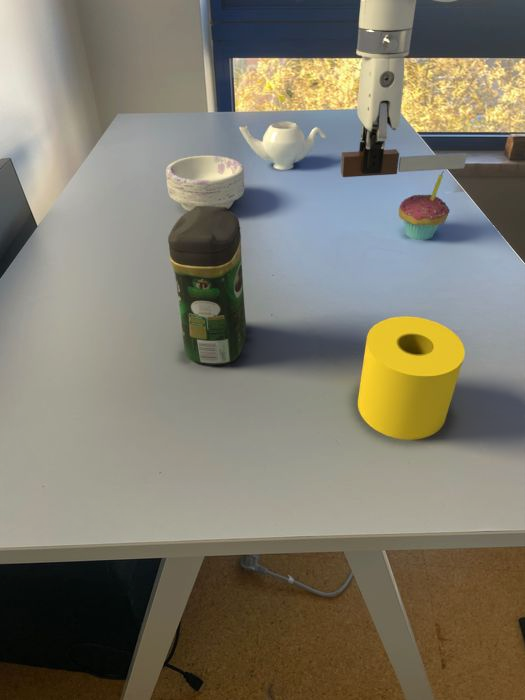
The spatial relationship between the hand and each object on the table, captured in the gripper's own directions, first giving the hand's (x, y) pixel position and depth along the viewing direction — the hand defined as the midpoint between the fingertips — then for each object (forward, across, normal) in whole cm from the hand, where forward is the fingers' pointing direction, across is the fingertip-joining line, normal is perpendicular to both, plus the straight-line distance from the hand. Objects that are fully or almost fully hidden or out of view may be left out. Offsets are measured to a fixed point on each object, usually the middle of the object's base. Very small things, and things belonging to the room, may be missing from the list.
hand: (369, 168), depth 86 cm
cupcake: (+13, 0, -10) cm, 16 cm away
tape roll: (+13, -43, +4) cm, 45 cm away
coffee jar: (+13, -30, +26) cm, 41 cm away
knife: (+1, 0, -5) cm, 5 cm away
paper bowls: (+13, +16, +29) cm, 35 cm away
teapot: (+13, +37, +12) cm, 41 cm away
